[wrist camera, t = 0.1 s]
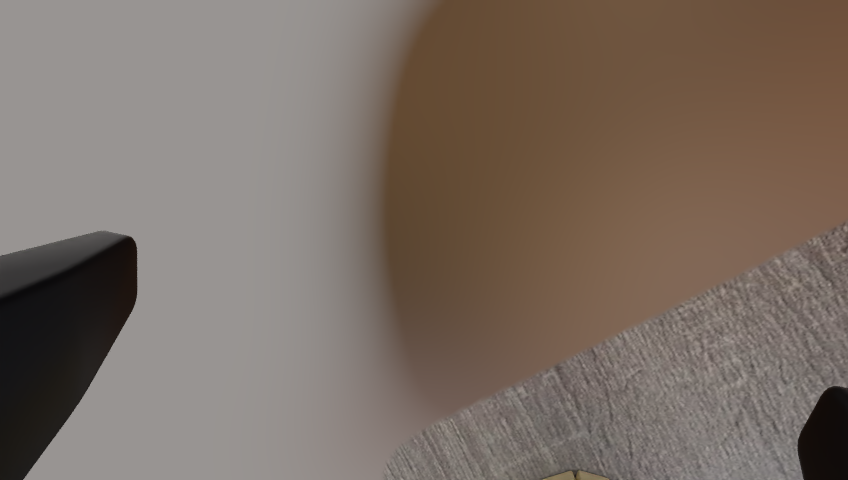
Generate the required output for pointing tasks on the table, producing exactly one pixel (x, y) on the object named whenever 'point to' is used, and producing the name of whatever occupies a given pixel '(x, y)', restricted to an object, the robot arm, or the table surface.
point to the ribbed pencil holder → (581, 478)
